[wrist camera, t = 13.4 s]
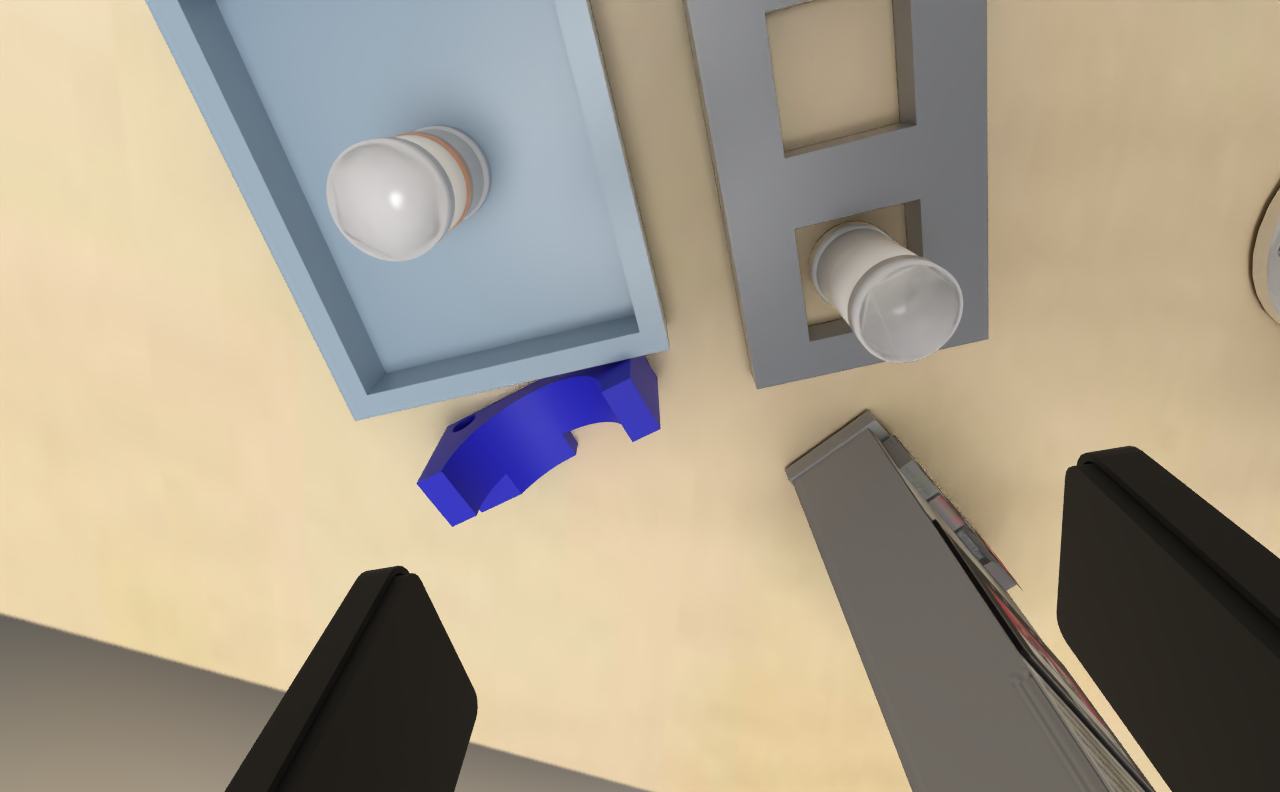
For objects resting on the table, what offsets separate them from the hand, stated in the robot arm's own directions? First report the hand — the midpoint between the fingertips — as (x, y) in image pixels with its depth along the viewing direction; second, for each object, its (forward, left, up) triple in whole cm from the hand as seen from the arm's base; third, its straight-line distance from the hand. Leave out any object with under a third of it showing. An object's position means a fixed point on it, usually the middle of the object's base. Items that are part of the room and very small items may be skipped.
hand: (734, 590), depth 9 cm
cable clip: (+8, +9, -26) cm, 28 cm away
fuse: (-9, +4, -25) cm, 27 cm away
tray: (+9, -5, -25) cm, 27 cm away
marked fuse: (+9, -5, -24) cm, 27 cm away
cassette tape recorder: (-10, +20, -26) cm, 34 cm away
